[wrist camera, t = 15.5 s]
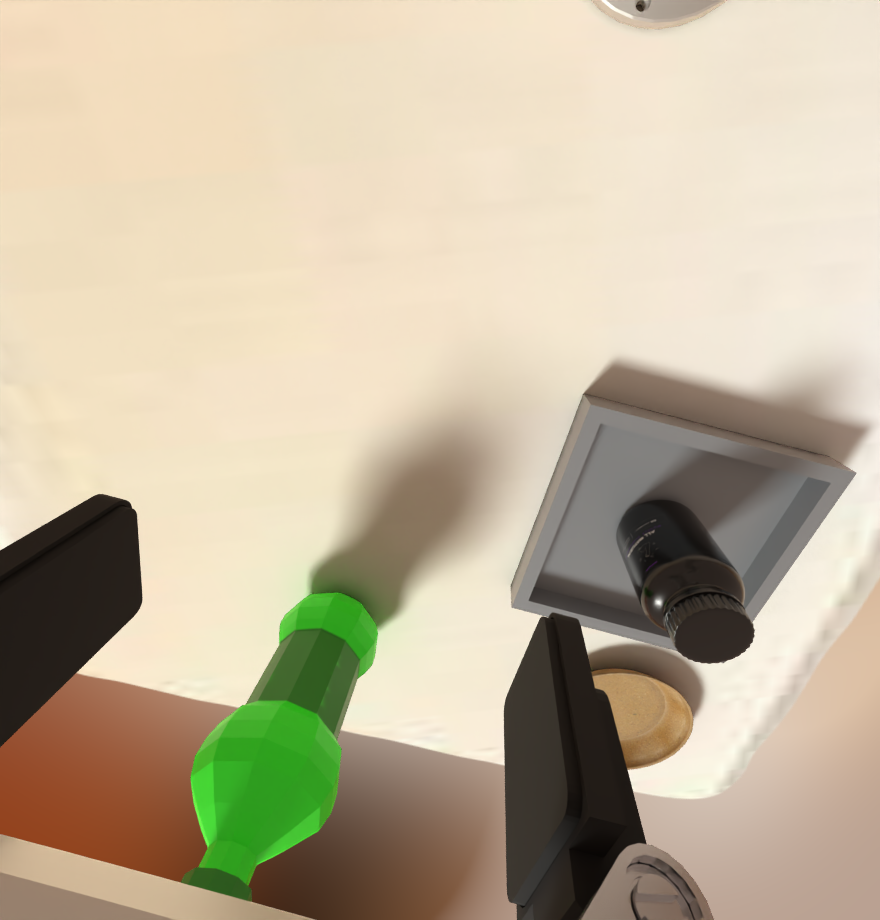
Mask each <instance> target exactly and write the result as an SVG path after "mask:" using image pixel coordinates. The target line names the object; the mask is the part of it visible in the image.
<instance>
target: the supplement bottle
mask: <svg viewBox="0 0 880 920" xmlns="http://www.w3.org/2000/svg"><path fill="white" fill-rule="evenodd" d="M616 541H617V545H618V548H619V551H620V554H621V556H622V559H623V561H624V564H625V567H626V569H627V572H628V574H629V577H630V579H631V582H632V585H633V587H634V590H635V592H636V595H637V597H638V600H639V602H640V605H641V607H642V609H643V611H644V613H645V615H646V616H647V617H648V618H649V619H650V620H651V621H652V622H653V623H654V624H655V625H657V626H658V627H660V628H661V629H663V630H665V631H667V633H668V635H669V636H670V638H671V640H672V642H673V645H674V646H675V647H676V649H677V651H678V652H679V653H681V654H682V655H683V656H684V657H687V658H688V659H689V660H693V661H695V662H700V663H709V664H711V663H719V662H725V661H727V660H731V659H733V658H735V657H737V656H739V655H740V654H741V653H743V652H745V651H746V649H747V648H749V647H750V644H751V643H752V642H753V638H754V631H755V630H754V628H753V623H752V621H751V620H750V618H749V616H748V615H747V613H746V611H745V608H744V606H743V604H744V599H745V588H744V584H743V581H742V579H741V577H740V575H739V574H738V572H737V570H736V569H735V568H734V566H733V565H732V564H731V562H730V561H729V559H728V558H727V557H726V555H725V554H724V553H723V551H722V550H721V549H720V547H719V546H718V544H717V543H716V542H715V540H714V539H713V538H712V536H711V535H710V534H709V532H708V531H707V529H706V528H705V527H704V525H703V524H702V523H701V521H700V520H699V519H698V517H697V516H696V515H695V514H694V513H693V512H692V511H691V510H690V509H689V508H688V507H686V506H685V505H683V504H681V503H679V502H676V501H672V500H663V499H660V500H651V501H647V502H644V503H641V504H639V505H637V506H635V507H634V508H632V509H631V510H629V511H628V512H627V513H626V514H625V515H624V517H623V518H622V519H621V521H620V523H619V525H618V528H617V532H616Z"/></svg>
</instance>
